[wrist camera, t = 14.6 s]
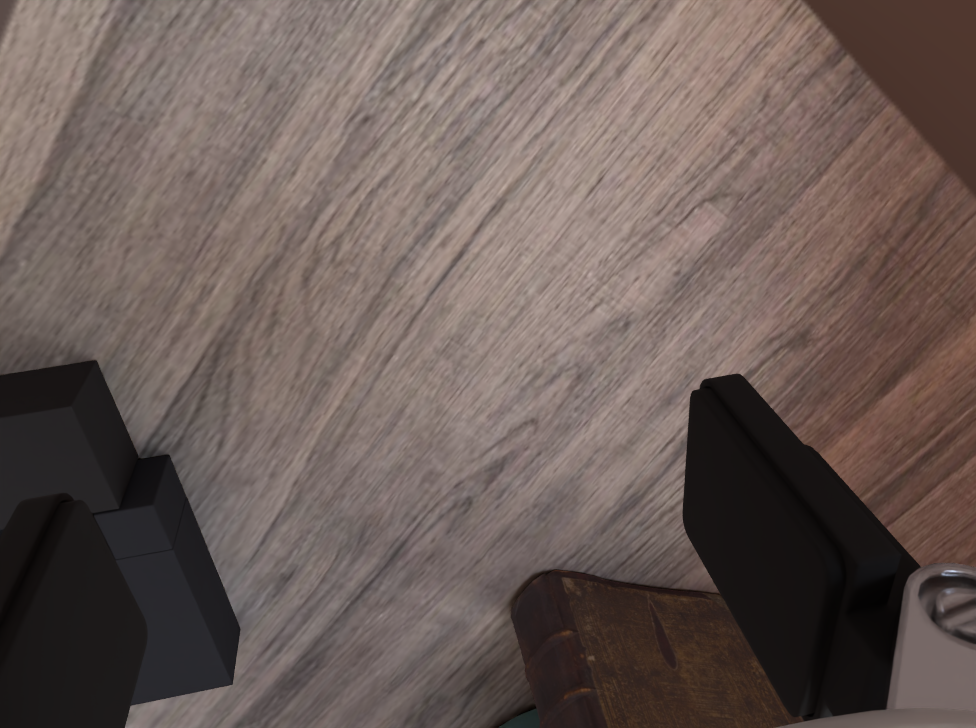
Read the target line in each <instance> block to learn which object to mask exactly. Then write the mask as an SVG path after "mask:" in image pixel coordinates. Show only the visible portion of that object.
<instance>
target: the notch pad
mask: <svg viewBox="0 0 976 728" xmlns="http://www.w3.org/2000/svg"><path fill="white" fill-rule="evenodd" d="M94 517H95V519H96V521H97V523H98V525H99V527H100V529H101V531H102V533H103V535H104V537H105V539H106V543H107V545H108V547H109V549H110V551H111V553H112V555H113V556H114V558H115V560H116V562H117V564H118V566H119V568H120V570H121V572H122V574H123V576H124V578H125V580H126V582H127V584H128V586H129V588H130V590H131V592H132V594H133V596H134V598H135V600H136V602H137V604H138V606H139V608H140V610H141V612H142V614H143V616H144V618H145V621H146V624H147V630H148V640H147V646H146V649H145V653H144V657H143V661H142V664H141V668H140V672H139V676H138V680H137V683H136V687H135V691H134V695H133V698H132V702H131V705H136V704H141V703H146V702H151V701H156V700H161V699H165V698H170V697H175V696H180V695H185V694H190V693H195V692H199V691H204V690H209V689H214V688H219V687H224V686H229V685H232V684H233V678H234V671H235V664H236V657H237V650H238V643H239V635H240V627H239V625H238V622H237V620H236V617H235V615H234V612H233V610H232V607H231V605H230V602H229V600H228V598H227V595H226V593H225V590H224V588H223V585H222V583H221V580H220V578H219V575H218V573H217V571H216V568H215V566H214V563H213V561H212V558H211V556H210V553H209V551H208V548H207V546H206V544H205V541H204V539H203V536H202V534H201V531H200V529H199V526H198V524H197V521H196V519H195V517H194V514H193V512H192V509H191V507H190V504H189V502H188V499H187V497H186V495H185V493H184V490H183V488H182V485H181V483H180V481H179V478H178V476H177V473H176V471H175V468H174V466H173V463H172V461H171V458H170V456H169V455H164V456H159V457H153V458H147V459H142V460H137V462H136V465H135V468H134V470H133V473H132V476H131V478H130V481H129V484H128V487H127V489H126V492H125V495H124V497H123V500H122V503H121V505H120V508H118V509H113V510H108V511H102V512H96V513H95V514H94ZM3 530H4V529H2V530H0V536H1V534H2V532H3Z"/></svg>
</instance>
